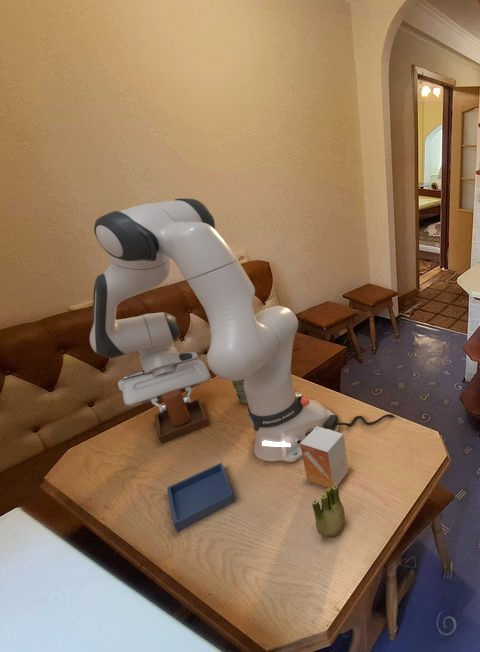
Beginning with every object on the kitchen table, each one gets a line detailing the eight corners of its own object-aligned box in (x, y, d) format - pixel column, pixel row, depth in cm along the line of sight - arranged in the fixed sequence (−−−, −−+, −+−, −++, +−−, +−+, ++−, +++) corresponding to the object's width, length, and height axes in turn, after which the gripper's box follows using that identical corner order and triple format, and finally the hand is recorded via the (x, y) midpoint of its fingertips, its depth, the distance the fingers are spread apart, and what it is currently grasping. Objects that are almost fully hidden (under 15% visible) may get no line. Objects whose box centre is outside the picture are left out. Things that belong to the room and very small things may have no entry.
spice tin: (189, 413, 110) (179, 387, 106) (191, 421, 107) (181, 394, 103) (171, 420, 107) (160, 393, 103) (173, 428, 104) (162, 400, 100)
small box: (307, 482, 90) (298, 443, 85) (323, 462, 96) (316, 425, 90) (334, 491, 88) (327, 452, 83) (349, 470, 93) (343, 433, 88)
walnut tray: (201, 404, 115) (199, 398, 114) (208, 425, 107) (206, 418, 106) (157, 420, 108) (154, 414, 107) (161, 443, 100) (158, 437, 99)
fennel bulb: (319, 544, 76) (311, 506, 71) (318, 524, 80) (310, 486, 75) (347, 534, 78) (341, 496, 73) (345, 514, 82) (338, 477, 78)
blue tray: (224, 469, 93) (221, 462, 92) (235, 501, 85) (232, 493, 84) (170, 494, 86) (167, 487, 85) (177, 532, 78) (173, 524, 77)
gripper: (113, 375, 98) (127, 422, 96) (201, 350, 111) (216, 390, 109) (118, 381, 103) (132, 425, 101) (203, 356, 116) (216, 395, 113)
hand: (176, 407), depth 105 cm, fingers closed on spice tin, 4 cm apart
